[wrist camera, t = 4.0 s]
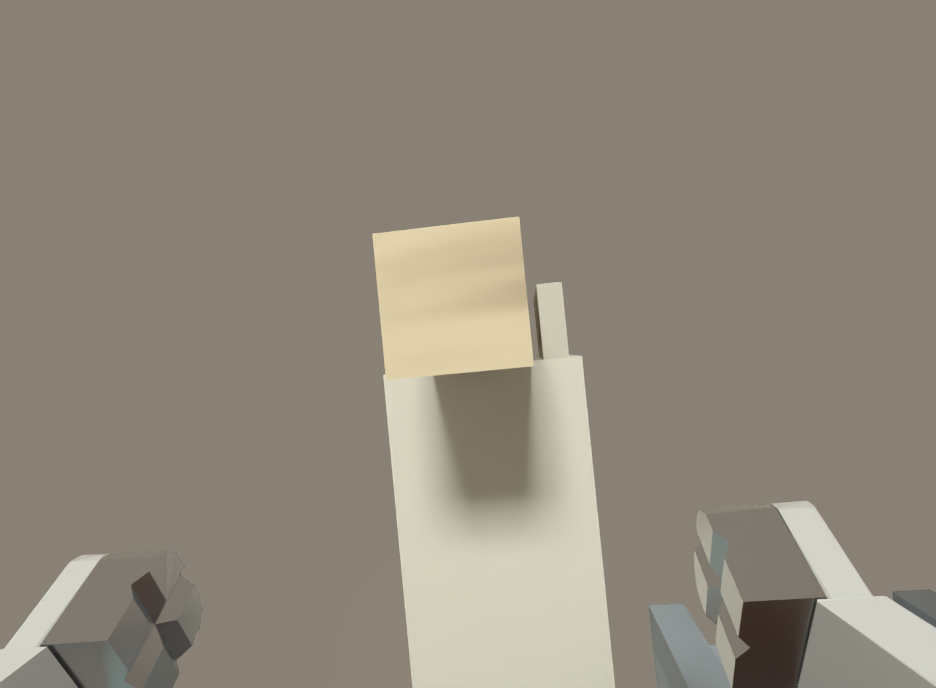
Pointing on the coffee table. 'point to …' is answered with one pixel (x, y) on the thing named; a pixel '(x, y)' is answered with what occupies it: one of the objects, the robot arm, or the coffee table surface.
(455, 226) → the rail
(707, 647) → the grey slotted block
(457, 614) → the bracket post
